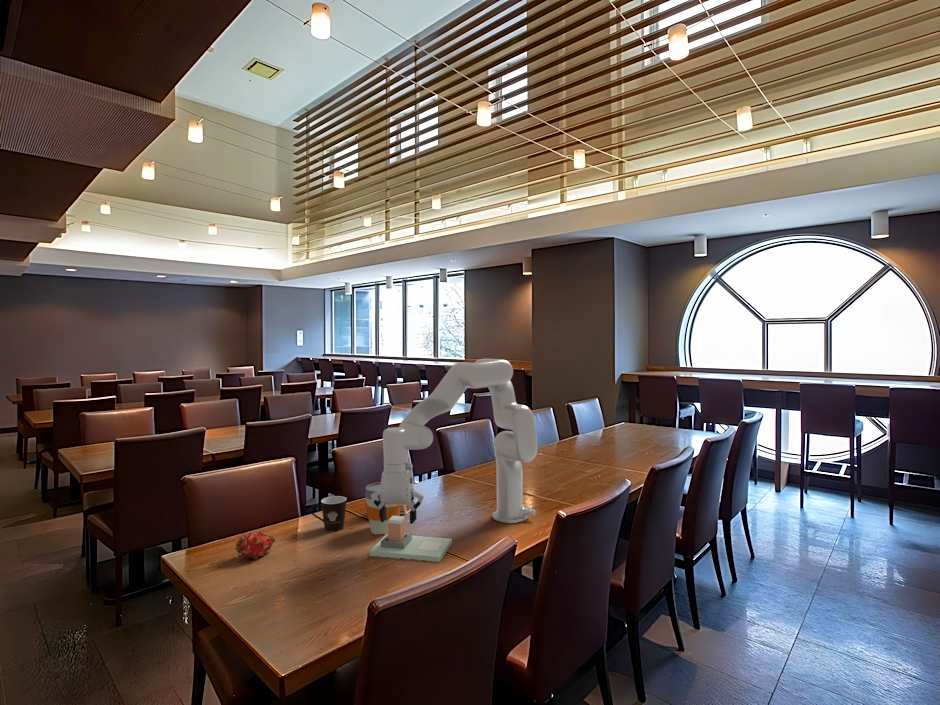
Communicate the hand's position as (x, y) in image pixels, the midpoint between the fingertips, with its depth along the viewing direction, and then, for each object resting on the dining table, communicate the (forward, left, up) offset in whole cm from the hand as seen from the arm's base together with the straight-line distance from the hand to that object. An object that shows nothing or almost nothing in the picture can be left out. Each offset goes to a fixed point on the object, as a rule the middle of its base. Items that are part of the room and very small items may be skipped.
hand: (398, 521), depth 158 cm
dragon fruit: (+40, +14, -9) cm, 44 cm away
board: (-5, 0, -8) cm, 10 cm away
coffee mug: (+29, -12, -9) cm, 33 cm away
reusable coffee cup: (+10, -14, -9) cm, 19 cm away
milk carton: (+12, -34, -9) cm, 37 cm away
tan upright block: (0, 0, -7) cm, 7 cm away
